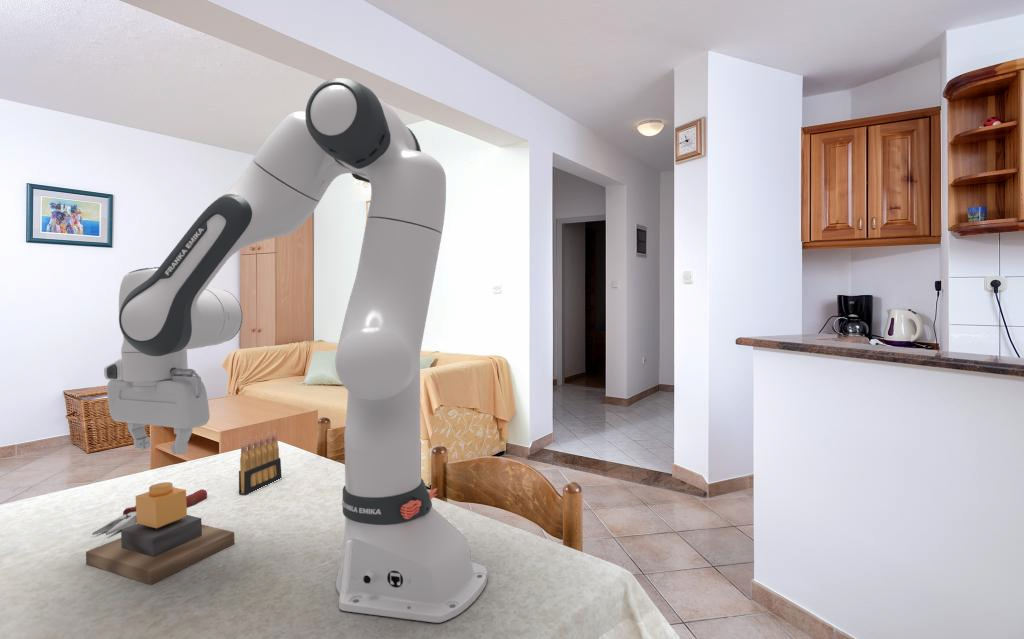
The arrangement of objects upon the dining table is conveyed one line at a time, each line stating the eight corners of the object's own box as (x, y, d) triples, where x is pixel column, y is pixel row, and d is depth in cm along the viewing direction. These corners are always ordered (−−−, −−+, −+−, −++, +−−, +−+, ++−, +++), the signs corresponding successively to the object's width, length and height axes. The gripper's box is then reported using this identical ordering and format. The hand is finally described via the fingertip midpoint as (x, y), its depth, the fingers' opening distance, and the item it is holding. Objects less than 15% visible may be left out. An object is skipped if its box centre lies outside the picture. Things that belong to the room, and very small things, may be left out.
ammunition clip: (245, 495, 112) (243, 440, 112) (238, 494, 113) (236, 439, 112) (281, 479, 122) (280, 428, 122) (275, 478, 123) (274, 427, 122)
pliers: (71, 538, 93) (71, 524, 93) (162, 496, 113) (162, 485, 113) (128, 543, 92) (127, 528, 91) (210, 499, 111) (209, 487, 111)
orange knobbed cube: (186, 516, 88) (185, 482, 87) (156, 528, 83) (155, 493, 83) (167, 511, 90) (166, 478, 89) (136, 523, 85) (135, 488, 85)
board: (234, 543, 90) (232, 489, 89) (150, 584, 77) (148, 521, 77) (173, 528, 96) (171, 477, 96) (86, 563, 83) (83, 505, 83)
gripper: (217, 366, 84) (222, 451, 85) (137, 363, 92) (141, 440, 93) (179, 372, 78) (184, 462, 79) (97, 368, 86) (102, 450, 87)
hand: (160, 451), depth 86 cm, fingers open, 8 cm apart
